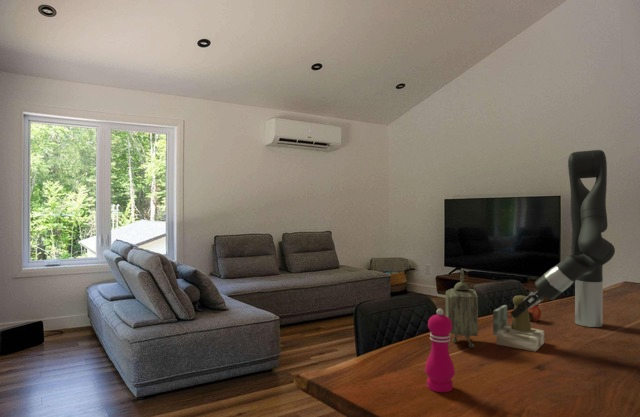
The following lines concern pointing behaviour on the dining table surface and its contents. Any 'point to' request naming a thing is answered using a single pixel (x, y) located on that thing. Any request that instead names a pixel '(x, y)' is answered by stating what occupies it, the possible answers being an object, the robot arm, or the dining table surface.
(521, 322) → the cork
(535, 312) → the pomegranate
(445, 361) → the pepper mill
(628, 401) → the dining table surface
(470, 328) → the tabletop clock
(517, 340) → the stand
